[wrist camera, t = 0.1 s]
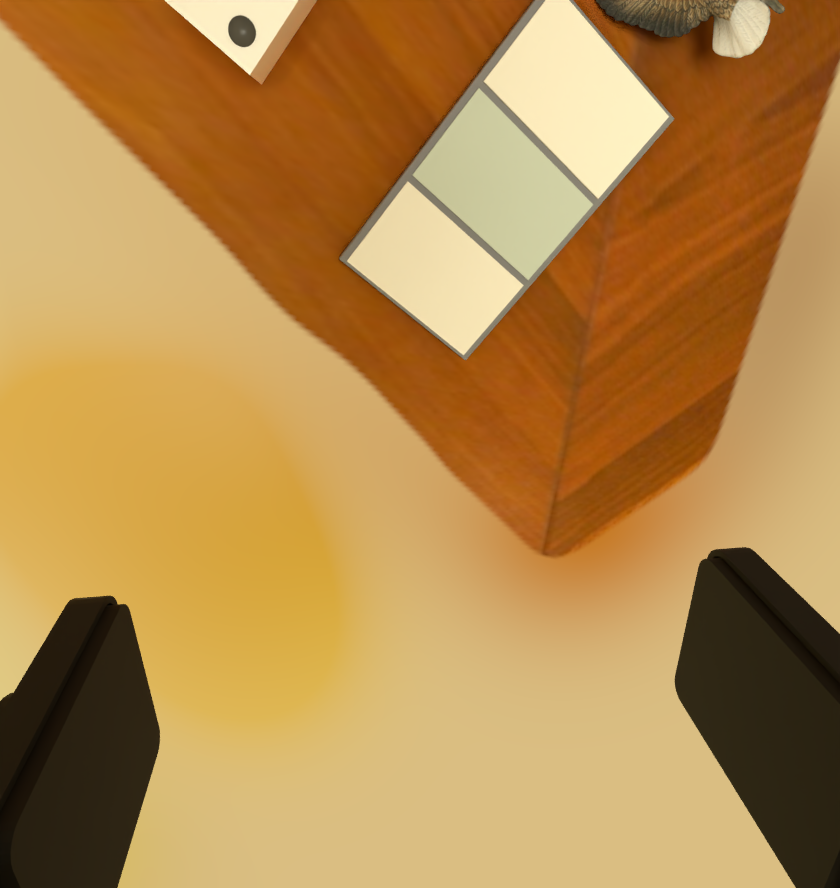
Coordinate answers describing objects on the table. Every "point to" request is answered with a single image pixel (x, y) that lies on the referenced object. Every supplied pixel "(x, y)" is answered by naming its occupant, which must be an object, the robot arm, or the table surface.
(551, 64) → the game board
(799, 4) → the table surface
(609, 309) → the table surface
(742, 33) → the eagle figurine
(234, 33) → the die
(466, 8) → the table surface
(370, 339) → the table surface
